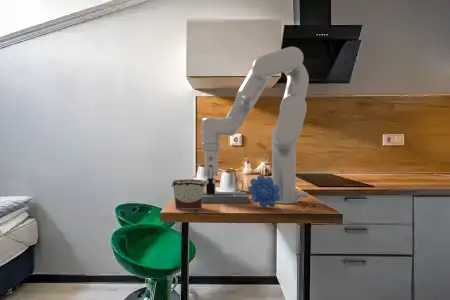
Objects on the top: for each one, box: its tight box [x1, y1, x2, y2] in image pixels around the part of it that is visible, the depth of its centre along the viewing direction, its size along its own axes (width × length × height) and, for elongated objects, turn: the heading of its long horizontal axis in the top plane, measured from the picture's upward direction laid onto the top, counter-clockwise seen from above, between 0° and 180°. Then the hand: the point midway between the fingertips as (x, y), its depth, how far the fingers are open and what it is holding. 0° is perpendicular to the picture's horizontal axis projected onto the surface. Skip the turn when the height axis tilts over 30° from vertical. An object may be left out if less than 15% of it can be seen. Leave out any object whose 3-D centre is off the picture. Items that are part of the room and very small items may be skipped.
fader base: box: [202, 191, 249, 204], centre depth 145 cm, size 19×12×3 cm, turn 92°
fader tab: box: [205, 177, 217, 195], centre depth 145 cm, size 4×3×7 cm
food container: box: [171, 178, 206, 210], centre depth 130 cm, size 12×6×10 cm, turn 84°
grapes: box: [247, 174, 280, 209], centre depth 129 cm, size 12×7×12 cm, turn 86°
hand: (210, 192), depth 145 cm, fingers closed on fader tab, 3 cm apart
